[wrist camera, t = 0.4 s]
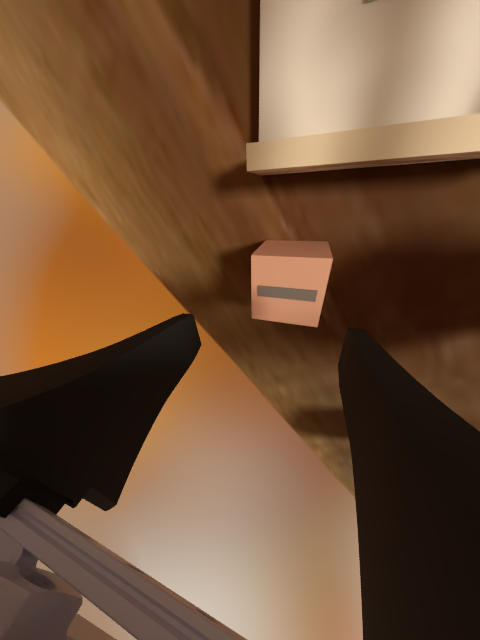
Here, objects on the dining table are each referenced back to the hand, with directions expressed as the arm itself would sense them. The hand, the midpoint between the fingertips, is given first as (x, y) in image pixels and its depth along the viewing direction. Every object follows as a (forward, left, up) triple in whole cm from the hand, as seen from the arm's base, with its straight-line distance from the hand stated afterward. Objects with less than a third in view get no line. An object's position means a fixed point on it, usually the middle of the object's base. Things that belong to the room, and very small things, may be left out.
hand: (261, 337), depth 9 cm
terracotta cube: (-1, 0, -10) cm, 10 cm away
